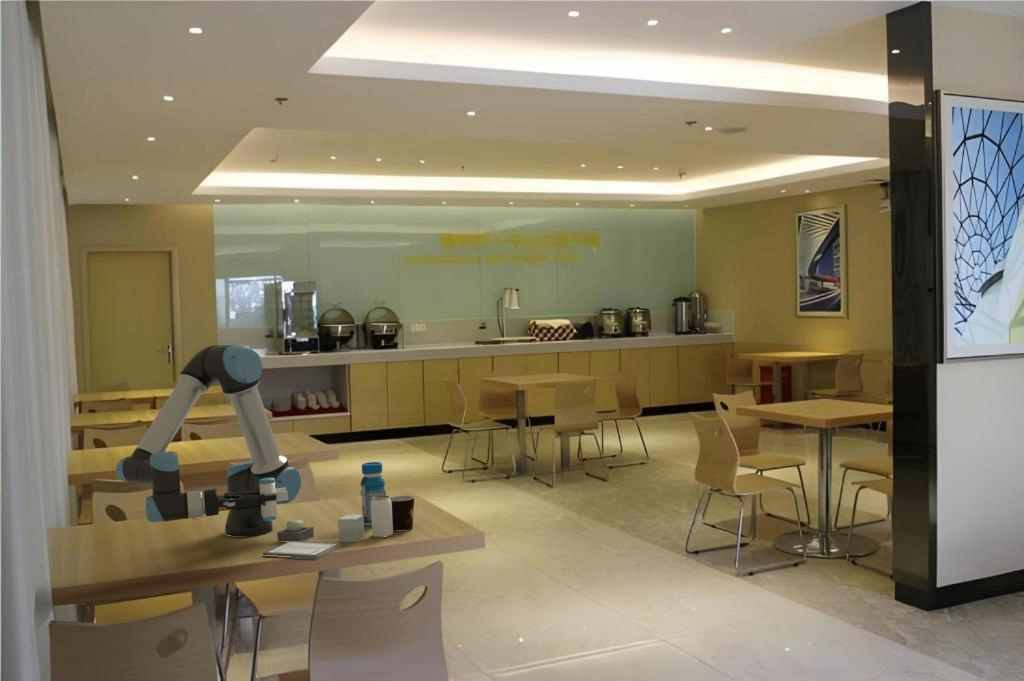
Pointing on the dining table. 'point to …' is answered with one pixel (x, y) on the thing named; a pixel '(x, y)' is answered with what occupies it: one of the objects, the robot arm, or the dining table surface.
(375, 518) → the can
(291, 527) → the button
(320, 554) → the picture board
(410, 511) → the coffee mug
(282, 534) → the button box
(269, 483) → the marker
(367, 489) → the beverage bottle
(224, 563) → the dining table surface
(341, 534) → the product box
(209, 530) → the dining table surface
